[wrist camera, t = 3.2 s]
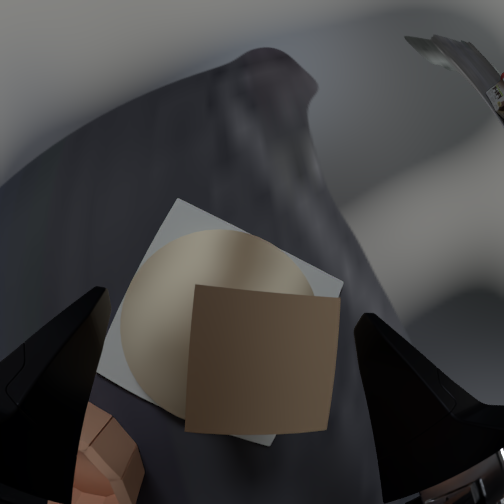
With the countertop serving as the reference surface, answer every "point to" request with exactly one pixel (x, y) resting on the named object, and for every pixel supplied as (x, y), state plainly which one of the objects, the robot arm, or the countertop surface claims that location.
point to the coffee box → (497, 97)
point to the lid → (231, 336)
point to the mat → (174, 226)
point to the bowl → (106, 462)
